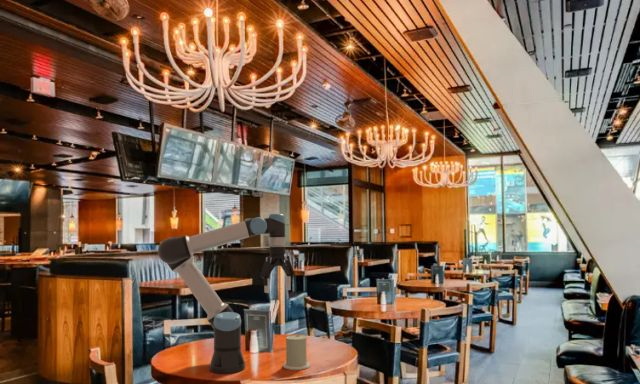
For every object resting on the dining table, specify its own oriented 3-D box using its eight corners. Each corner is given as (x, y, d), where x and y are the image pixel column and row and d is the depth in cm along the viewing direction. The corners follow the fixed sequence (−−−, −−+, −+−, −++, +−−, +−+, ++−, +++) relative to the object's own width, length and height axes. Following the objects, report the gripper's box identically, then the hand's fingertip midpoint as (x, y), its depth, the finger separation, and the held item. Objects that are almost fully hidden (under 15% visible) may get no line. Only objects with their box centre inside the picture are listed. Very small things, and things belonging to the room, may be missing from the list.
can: (308, 361, 230) (308, 334, 231) (305, 366, 221) (304, 338, 221) (288, 361, 231) (287, 334, 232) (284, 366, 222) (283, 338, 223)
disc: (287, 371, 218) (287, 368, 218) (279, 364, 229) (279, 362, 229) (314, 368, 222) (314, 365, 222) (305, 361, 233) (305, 359, 233)
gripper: (290, 245, 256) (291, 288, 254) (252, 247, 238) (252, 293, 236) (301, 245, 251) (301, 289, 249) (262, 247, 233) (263, 294, 231)
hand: (277, 291), depth 243 cm, fingers open, 13 cm apart
